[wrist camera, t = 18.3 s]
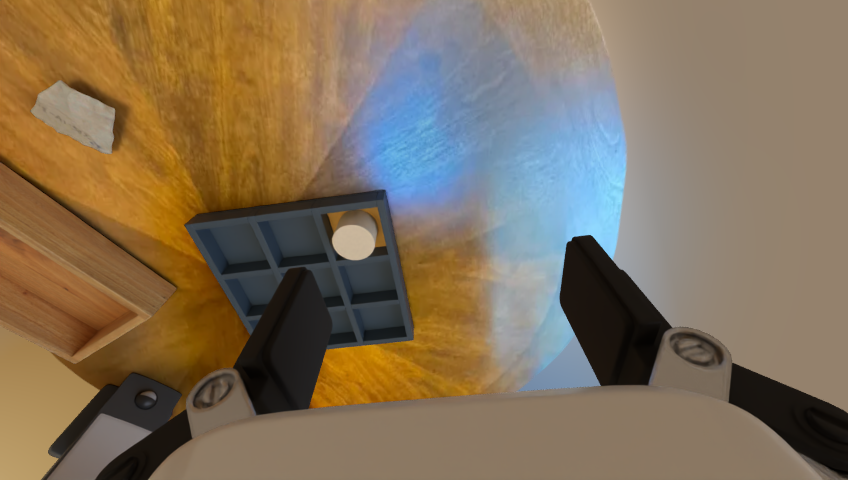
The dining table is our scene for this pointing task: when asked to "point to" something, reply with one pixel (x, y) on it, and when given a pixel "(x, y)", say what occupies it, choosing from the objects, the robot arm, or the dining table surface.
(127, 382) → the light fixture
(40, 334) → the tray
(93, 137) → the stone
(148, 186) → the dining table surface
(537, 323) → the dining table surface
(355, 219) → the cylinder
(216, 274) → the grid
